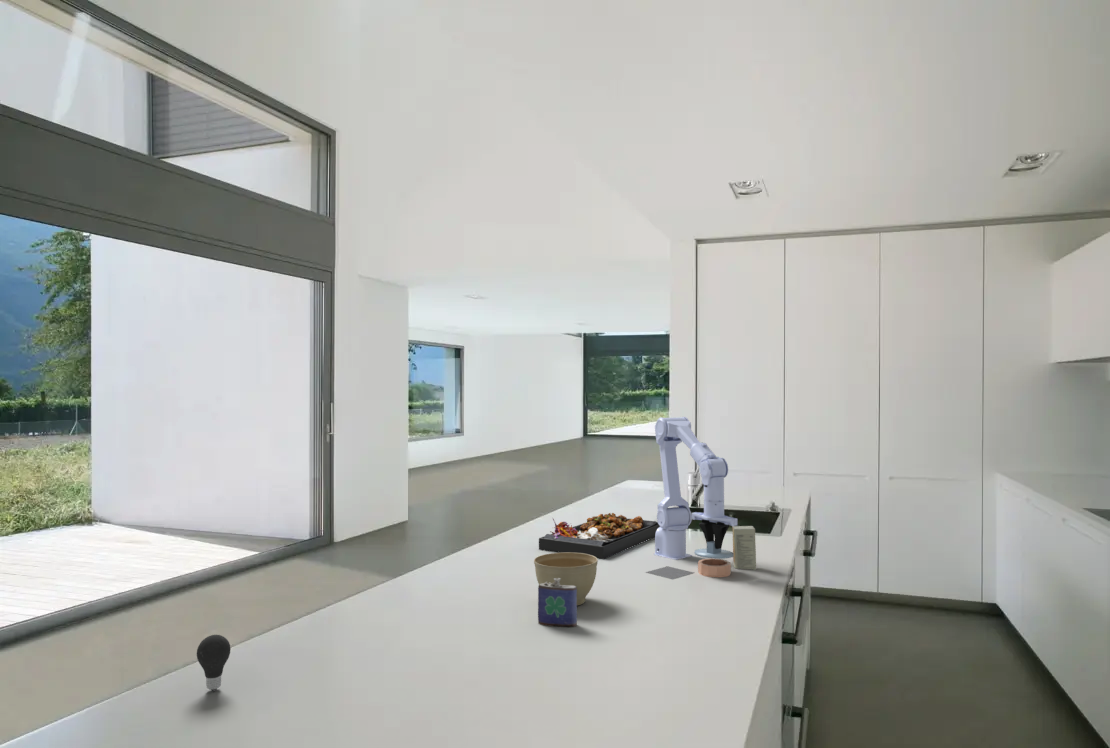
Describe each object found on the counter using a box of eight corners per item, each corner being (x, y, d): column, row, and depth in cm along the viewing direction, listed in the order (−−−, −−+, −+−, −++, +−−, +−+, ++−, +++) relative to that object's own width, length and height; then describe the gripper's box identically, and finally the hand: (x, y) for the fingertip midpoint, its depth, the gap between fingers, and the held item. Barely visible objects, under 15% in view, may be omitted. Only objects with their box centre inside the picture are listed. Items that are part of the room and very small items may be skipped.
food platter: (603, 561, 229) (603, 528, 229) (538, 551, 242) (538, 520, 242) (664, 535, 267) (663, 506, 267) (605, 527, 280) (604, 500, 280)
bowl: (692, 574, 211) (692, 562, 211) (710, 568, 217) (710, 556, 217) (718, 580, 204) (718, 568, 204) (736, 574, 210) (736, 562, 210)
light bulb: (203, 684, 136) (203, 630, 136) (235, 683, 136) (235, 629, 136) (191, 697, 130) (191, 641, 130) (224, 696, 131) (223, 640, 131)
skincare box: (754, 566, 219) (753, 525, 219) (756, 570, 214) (756, 528, 215) (732, 566, 219) (731, 525, 219) (734, 569, 215) (734, 528, 215)
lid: (686, 553, 211) (686, 540, 211) (709, 549, 218) (709, 536, 218) (718, 560, 202) (718, 547, 203) (741, 555, 210) (741, 542, 210)
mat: (645, 573, 211) (645, 572, 211) (667, 567, 218) (667, 566, 218) (672, 580, 204) (672, 579, 204) (694, 574, 211) (694, 572, 211)
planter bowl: (607, 597, 189) (606, 555, 189) (583, 615, 174) (582, 569, 174) (550, 589, 196) (550, 549, 196) (523, 607, 181) (522, 563, 181)
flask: (578, 624, 168) (577, 577, 168) (574, 628, 165) (574, 581, 166) (539, 620, 171) (539, 575, 171) (536, 625, 168) (535, 578, 168)
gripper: (685, 498, 213) (685, 545, 213) (727, 505, 202) (727, 554, 202) (699, 496, 218) (700, 541, 218) (741, 502, 207) (742, 550, 207)
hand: (714, 547), depth 210 cm, fingers closed on lid, 2 cm apart
